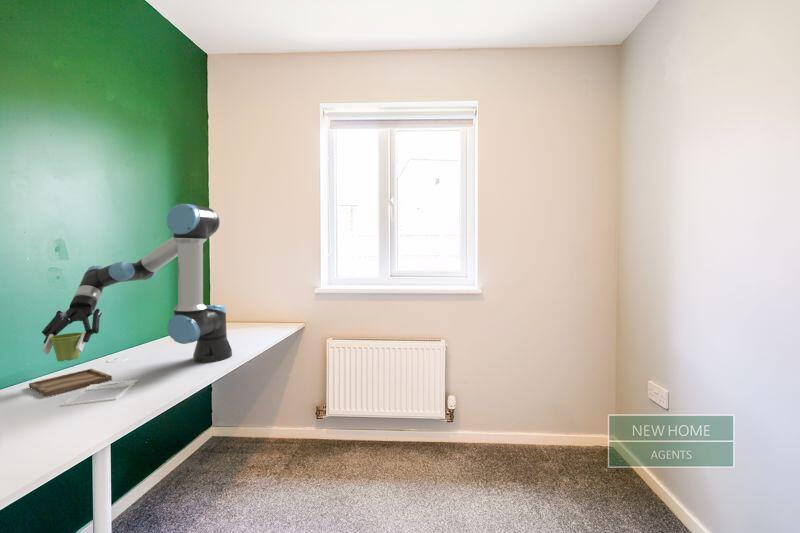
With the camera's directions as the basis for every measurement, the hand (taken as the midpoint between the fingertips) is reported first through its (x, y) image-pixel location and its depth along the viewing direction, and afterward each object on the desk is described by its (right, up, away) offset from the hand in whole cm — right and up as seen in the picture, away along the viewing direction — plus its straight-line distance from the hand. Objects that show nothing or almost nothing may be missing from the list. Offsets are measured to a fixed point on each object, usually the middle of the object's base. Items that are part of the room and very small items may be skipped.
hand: (62, 350), depth 132 cm
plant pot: (-1, -4, +3) cm, 5 cm away
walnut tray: (0, -13, +4) cm, 13 cm away
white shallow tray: (+19, -13, -6) cm, 24 cm away
